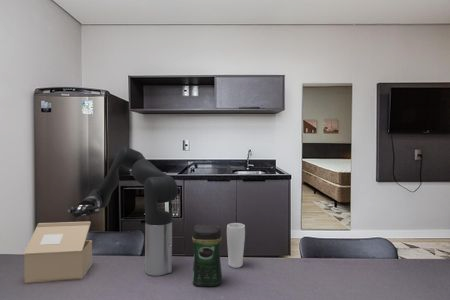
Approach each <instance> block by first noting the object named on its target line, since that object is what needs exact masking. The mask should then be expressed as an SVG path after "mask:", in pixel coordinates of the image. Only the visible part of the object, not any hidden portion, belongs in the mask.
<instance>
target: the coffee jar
mask: <svg viewBox="0 0 450 300" xmlns="http://www.w3.org/2000/svg"><path fill="white" fill-rule="evenodd" d="M222 236H223V235H222V229H221V226H220V225H219V224H196V225H195V226H194V227H193V231H192V237H191V239H192V243H193V248H194V249H193V250H194V251H193V252H194V254H193V267H192V275H191V276H192V278H191V280H192V283H193V285H195V286H198V287H216V286H219V285H220V284H221V283H222V281H223V280H222V278H223V276H222V274H223V273H222V264H221V262H222V261H221V253H220V252H221V251H220V250H221V249H220V248H221V243H222V238H223V237H222Z"/></svg>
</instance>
